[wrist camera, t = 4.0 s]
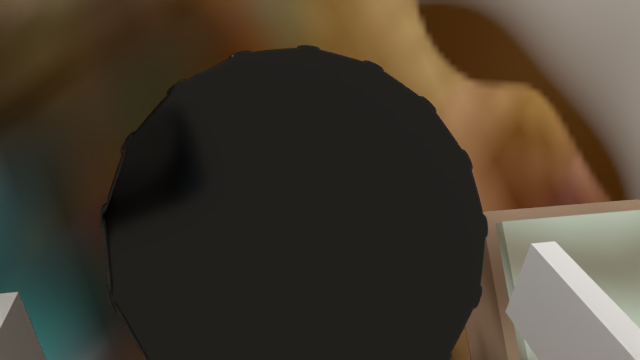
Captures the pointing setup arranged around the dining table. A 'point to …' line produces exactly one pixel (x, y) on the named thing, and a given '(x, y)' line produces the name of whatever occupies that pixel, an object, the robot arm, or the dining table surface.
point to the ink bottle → (293, 217)
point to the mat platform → (577, 241)
